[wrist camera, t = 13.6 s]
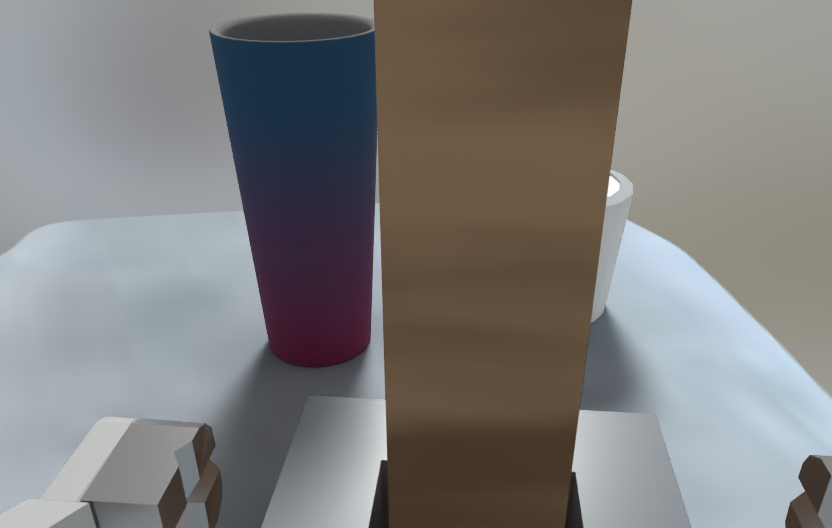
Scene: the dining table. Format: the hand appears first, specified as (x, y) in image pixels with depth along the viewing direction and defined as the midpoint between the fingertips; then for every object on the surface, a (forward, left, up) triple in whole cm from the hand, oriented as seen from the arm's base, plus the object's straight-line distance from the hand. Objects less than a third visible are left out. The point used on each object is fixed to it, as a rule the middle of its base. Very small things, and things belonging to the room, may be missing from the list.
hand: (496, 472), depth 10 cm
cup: (+8, +22, -13) cm, 27 cm away
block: (+4, +5, -12) cm, 13 cm away
